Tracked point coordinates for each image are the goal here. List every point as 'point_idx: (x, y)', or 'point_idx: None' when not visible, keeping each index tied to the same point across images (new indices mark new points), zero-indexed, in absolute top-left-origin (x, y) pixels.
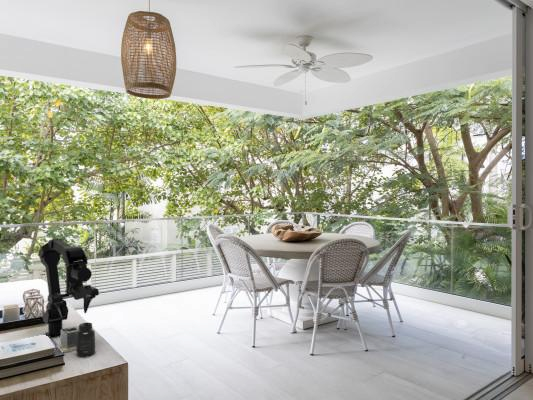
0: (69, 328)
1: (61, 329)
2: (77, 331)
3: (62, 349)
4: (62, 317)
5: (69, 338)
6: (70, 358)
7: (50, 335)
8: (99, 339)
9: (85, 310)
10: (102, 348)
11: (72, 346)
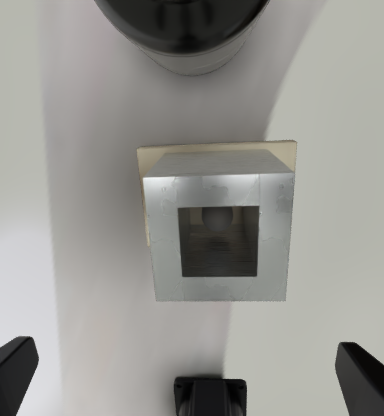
0: (221, 281)
1: (279, 299)
2: (194, 174)
3: (288, 164)
4: (358, 347)
5: (261, 163)
6: (299, 7)
7: (240, 396)
8: (54, 207)
9: (2, 364)
10: (75, 40)
11: (233, 151)
